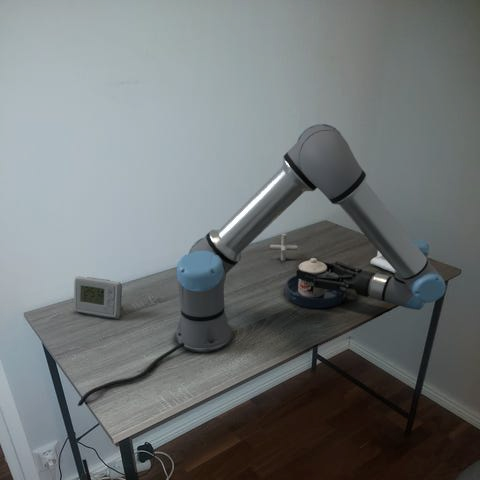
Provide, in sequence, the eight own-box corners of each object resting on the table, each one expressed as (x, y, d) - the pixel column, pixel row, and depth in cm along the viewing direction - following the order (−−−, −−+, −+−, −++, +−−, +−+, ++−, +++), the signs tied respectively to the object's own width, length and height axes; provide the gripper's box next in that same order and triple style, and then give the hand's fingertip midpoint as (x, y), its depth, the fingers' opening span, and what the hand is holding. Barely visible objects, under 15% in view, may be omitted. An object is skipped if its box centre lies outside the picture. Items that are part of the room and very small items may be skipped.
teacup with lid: (291, 291, 148) (292, 258, 141) (310, 282, 152) (312, 250, 146) (319, 304, 140) (321, 270, 133) (338, 295, 144) (341, 262, 138)
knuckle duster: (363, 263, 167) (387, 254, 175) (404, 279, 155) (429, 268, 162) (364, 255, 165) (389, 245, 173) (406, 271, 153) (431, 260, 160)
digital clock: (71, 312, 138) (64, 281, 133) (93, 300, 145) (87, 269, 139) (110, 325, 131) (104, 292, 126) (131, 311, 138) (126, 280, 132)
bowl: (337, 313, 135) (338, 303, 134) (277, 301, 142) (277, 292, 140) (350, 287, 150) (351, 278, 149) (295, 277, 157) (296, 268, 155)
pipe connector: (296, 255, 175) (297, 230, 170) (296, 265, 166) (298, 239, 161) (270, 254, 176) (271, 229, 171) (269, 264, 167) (270, 239, 162)
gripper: (356, 311, 128) (287, 291, 139) (382, 283, 143) (318, 267, 154) (359, 287, 124) (288, 269, 135) (386, 261, 139) (319, 246, 150)
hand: (304, 268), depth 144 cm, fingers closed on teacup with lid, 9 cm apart
